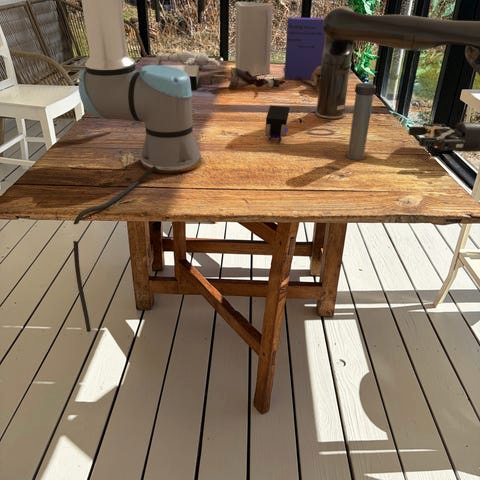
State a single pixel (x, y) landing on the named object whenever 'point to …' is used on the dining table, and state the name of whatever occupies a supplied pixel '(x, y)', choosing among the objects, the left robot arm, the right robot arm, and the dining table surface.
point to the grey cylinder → (359, 126)
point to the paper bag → (253, 37)
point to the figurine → (246, 79)
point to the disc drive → (189, 73)
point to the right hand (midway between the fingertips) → (414, 136)
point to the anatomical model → (316, 78)
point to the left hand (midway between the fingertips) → (178, 22)
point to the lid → (365, 88)
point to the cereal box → (303, 47)
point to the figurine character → (276, 122)
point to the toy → (185, 58)
